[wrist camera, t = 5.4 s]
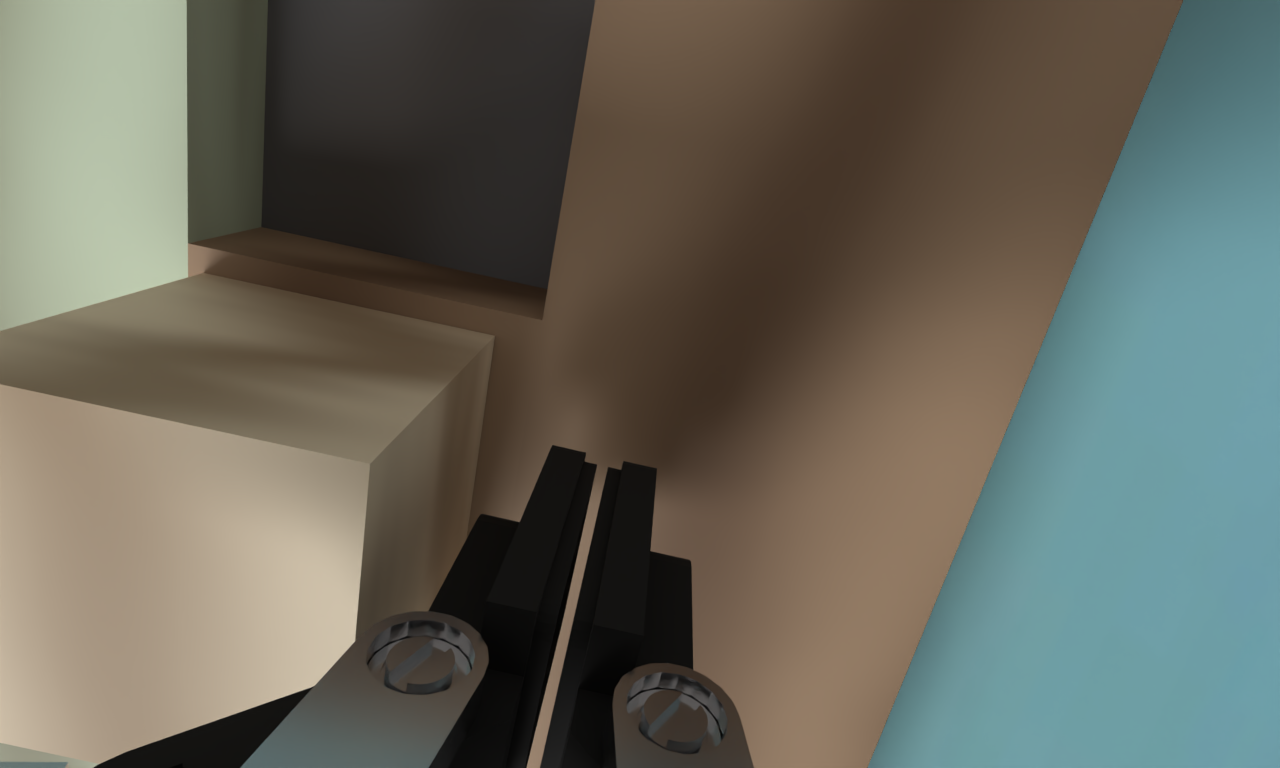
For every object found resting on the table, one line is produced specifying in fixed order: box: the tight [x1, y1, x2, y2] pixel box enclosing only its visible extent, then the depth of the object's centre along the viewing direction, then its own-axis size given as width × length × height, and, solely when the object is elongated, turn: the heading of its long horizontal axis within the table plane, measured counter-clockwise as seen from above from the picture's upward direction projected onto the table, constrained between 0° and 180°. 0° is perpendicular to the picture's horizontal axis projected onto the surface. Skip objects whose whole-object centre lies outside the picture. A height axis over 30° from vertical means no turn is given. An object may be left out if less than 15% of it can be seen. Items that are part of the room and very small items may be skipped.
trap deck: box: [0, 0, 1183, 768], centre depth 14 cm, size 22×20×2 cm
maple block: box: [0, 273, 495, 764], centre depth 11 cm, size 5×5×5 cm
